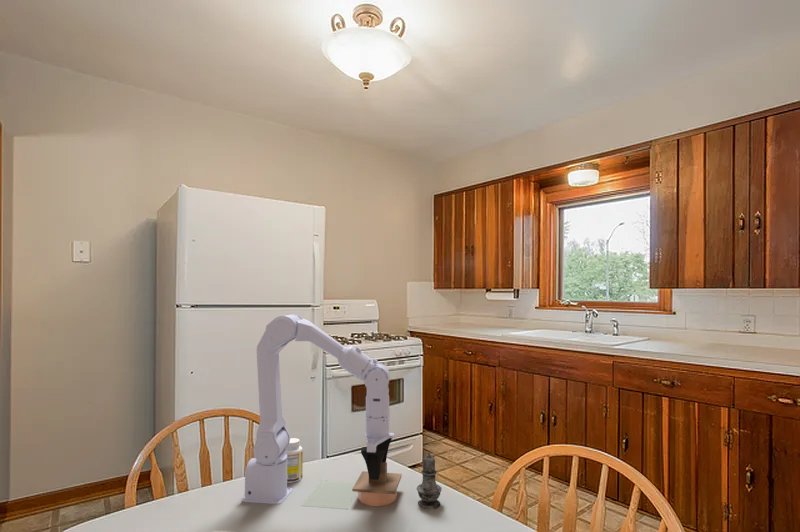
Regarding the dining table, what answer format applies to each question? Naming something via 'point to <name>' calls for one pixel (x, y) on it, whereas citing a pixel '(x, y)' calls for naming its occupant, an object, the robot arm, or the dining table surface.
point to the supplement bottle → (294, 461)
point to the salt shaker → (429, 485)
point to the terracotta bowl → (376, 498)
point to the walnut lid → (378, 482)
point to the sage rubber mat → (331, 495)
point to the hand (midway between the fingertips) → (377, 472)
